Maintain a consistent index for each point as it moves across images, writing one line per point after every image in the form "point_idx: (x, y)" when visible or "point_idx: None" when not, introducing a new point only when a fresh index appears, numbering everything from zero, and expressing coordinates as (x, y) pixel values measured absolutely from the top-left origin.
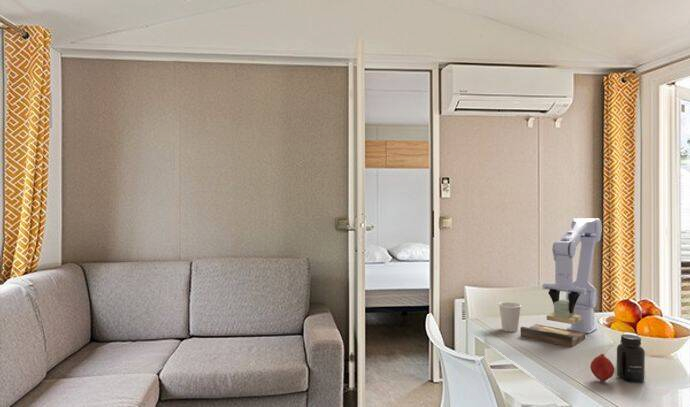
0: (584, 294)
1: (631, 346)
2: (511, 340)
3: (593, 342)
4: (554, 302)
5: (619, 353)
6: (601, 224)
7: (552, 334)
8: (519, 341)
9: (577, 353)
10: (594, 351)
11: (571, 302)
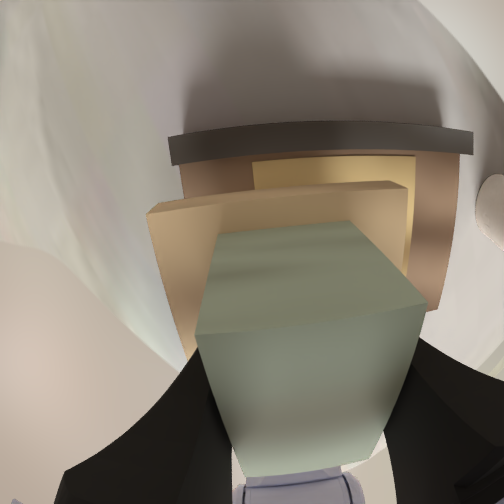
0: (13, 499)
1: None
2: (436, 46)
3: (165, 300)
4: (421, 302)
5: None
6: None
7: (295, 122)
8: (411, 50)
9: (121, 77)
10: (91, 174)
11: (167, 412)
